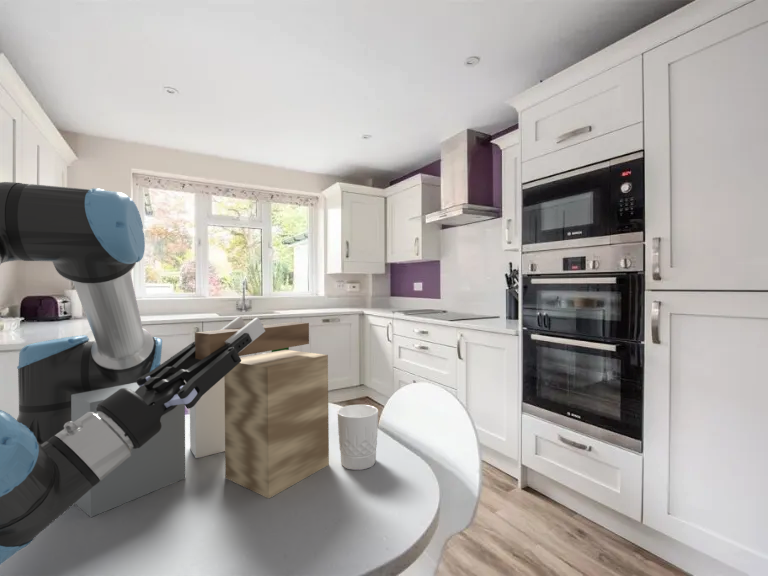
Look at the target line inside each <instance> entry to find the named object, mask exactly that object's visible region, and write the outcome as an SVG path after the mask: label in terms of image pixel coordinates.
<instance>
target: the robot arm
mask: <svg viewBox="0 0 768 576" xmlns="http://www.w3.org/2000/svg"><path fill="white" fill-rule="evenodd" d="M143 229H144V225H143V221H142V217H141V214H140V210H139V209H138V207H137V204H136V202H135V201H134V200H133V199H132V198H131V197H130V196H129V195H127V194H125V193H123V192H120V191H112V190H105V189H102V188H99V187H98V188H94V187H93V188H90V189H89V188H88V189H87V188H79V187H78V188H77V187H67V186H56V185H44V184H34V183H22V182H11V181H2V182H1V181H0V266H1V264H4V263H6V262H7V263H8V262H15V261H23V262H52V264H53V266H54V269H55V271H56V272H57V274H58V275H60V277H62V278H63V279H65V280H68V281H70V282H72V284H73V286H74V288H75V290H76V294H77V296H78V299H79V302H80V304H81V307H82V309H83V311H84V314H85V317H86V319H87V323H88V325H89V327H90V329H91V332H92V335H93V337H94V341H93V340H92V341H90V339H89V337H88V335H85V334H82V335H74V336H73V335H72V336H68V337H67V336H66V337H61V338H60V337H59V338H54V339H47V340H42V341H38V342H35V343H30V344H27V345H24V347H22V348H20V351H19V353H18V355H19V356H18V365H17V366H16V369H17V371H18V372H17V375H18V376H17V377H18V378H17V379H18V380H17V381H18V383H17V384H18V385H17V386H18V416H17V419H16V418H15V417H14V416H12V415H11V414H10V413H8V412H6V411H4V410H2V409H0V566H1V565H2V564H3V563H5V562H6V561H7V560H8V559H10V558H11V557H12V556H14V555H15V554H17V552H19V551H20V550H21V549H23V548H26V547H27V546H28V545H29V544H31V543H32V542H33V540H34V539H35V538H36V537H37V536H38V535H39V534H40V533H41V532H43V531H44V530H45V529H46V528H48V527H49V526H50V525H51V524H52V523H53V522H54V521H56V519H57V518H60V516H61V515H63V514H64V513H65V512H66V511H67V510H68V509H69V508H71V507H72V506H73V505H74V504H75V502H76V501H77V500H79V499H80V498H81V497H82V496H83V495H84V494H86V493H87V492H88V491H89V490H90V489H91V488H93V486H95V485H96V484H97V483H98V482H99V481H101V480H102V479H103V478H105V477H106V476H107V475H108V474H109V473H111V472H112V471H113V470H114V469H115V468H117V467H118V466H119V465H120V464H121V463H123V462H124V461H125V460H126V459H127V458H129V457H130V456H131V449H132V448H134V449H136V448H140V447H141V446H142V445H144V444H145V443H146V442H147V441H148V440H150V439H151V438H152V437H153V436H154V435H155V434H157V433H158V432H159V431H160V430H161V426H162V425H161V422H160V419H161V417H162V416H163V415H164V414H166V413H167V412H169V411H171V410H173V409H174V408H175V407H176V406H177V405H179V404H184V405H185V408H186V409H189V410H190V408H192V407H193V406H194V405H195V404H196V403H197V402H198V400H199V399H200V398H201V397H202V395H204V394H205V393H206V392H207V391H208V390H209V389H210V388H212V387H213V386H214V385H215V384H216V383H217V382H218V381H219V380H221V379H222V378H223V377H224V376H225V375H226V374H227V373H229V372H230V371H231V370H232V369H233V368H234V367H235V366H237V365H238V364H239V363H240V362H241V359H240V358H241V356H239V355H238V353H239V352H241V351H242V350H243V349H244V348H245V347H247V346H248V345H249V344H250V343H252V342H253V341H254V340H255V339H256V338H258V337H259V336H260V335H261V334H262V333H264V332H265V329H264V327H263V325H264V324H263V323H262V322H261V320H260V318H259V317H255V318H253V319H252V320H250V321H249V322H248V323H245V321H244V319H243V318H242V316H237V317H236V318H234V319H232V320H231V321H230V322H229V323H227V324H225V325H224V326H223V327H222V328H221V329H220V330H223V329H233V328H241V329H240V330H239V331H237V332H236V333H235V334H234V335H232V336H231V337H230V338H228V339H227V340H226V341H225V343H226V344H225V345H224V346H222V347H221V348H219V349H218V350H216V351H214V352H213V353H211V354H210V355H208V356H207V357H205V358H204V359H202V360H201V359H196V358H195V341H193V342H191V343H190V344H189V345H187V346H186V347H184V348H182V349H181V350H180V351H178V352H176V353H175V354H174V355H172V356H171V357H170V358H168V359H167V360H166V361H164V362H161V360H162V350H163V349H162V348H163V339H162V338H161V337H157V336H153V335H152V334H151V333H150V331H148V330H147V329H145V328H143V323H142V320H141V314H140V311H139V305H138V301H137V296H136V292H135V287H134V284H133V283H134V282H133V279H132V274H131V272H132V270H134V268H135V266H136V263H139V262H140V261H142V259H143V257H144V254H145V249H146V243H145V242H146V241H145V240H146V238H145V234H144V233H145V232H144V230H143ZM242 327H243V328H242ZM131 383H137V384H138V385H139V388H138V389H137V390H136V391H135V392H134V391H132V390H130V389H128V388H121V389H119V390H118V391H116V392H115V393H114V394H112V395H111V396H109V397H108V398H106V399H105V400H104V401H102V402H101V403H99V404H98V405H97V406H98V407H97V408H96V410H97V412H96V413H94V412H87V413H86V414H85V415H83V416H82V417H80V418H79V419H77V420H76V421H75V422H73V421H71V395H73V394H78V393H83V392H89V391H94V390H99V389H105V388H110V387H115V386H121V385H126V384H131Z"/></svg>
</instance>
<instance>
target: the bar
mask: <svg viewBox="0 0 768 576" xmlns="http://www.w3.org/2000/svg"><path fill="white" fill-rule="evenodd" d="M262 325H263V327H264V329H265V332H264V333H262V334H261V335H260V336H259V337H258V338H256V339H255V340H254V341H253V342H252V343H250V344H249V345H248V346H247V347H245V348H244V349H243V350H242V351H241V352H239V353H238V355H239V357H241V356H242V357H244V356H247V355H248V356H249V355H255V354H261V353H266V352H272V350H277V349H283V348H288V347H289V348H293V347H298V346H299V347H300V346H304V345H309V344H310V323H309V322H301V321H289V322H281V323H273V324H272V323H271V324H262ZM242 328H243V327H242ZM240 329H241V328H233V329H223V330H221V329H216V330H215V329H214V330H207V331H196V332H195V336H194V337H195V338H194V340H195V341H194V342H195V358H196V359H201V360H202V359H204V358H205V357H207V356H208V355H210V354H211V353H213V352H214V351H216V350H218V349H219V348H221V347H222V346H224V345H225V344H226V343H225V341H226V340H227V339H228V338H230V337H231V336H232V335H234V334H235V333H236V332H237V331H239V330H240Z"/></svg>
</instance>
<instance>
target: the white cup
mask: <svg viewBox="0 0 768 576" xmlns="http://www.w3.org/2000/svg"><path fill="white" fill-rule="evenodd" d="M336 412H337V424H338V425H337V428H338V429H337V431H338V441H339V442H338V444H339V451H340V463H341V466H342V467H344V468H345V469H348V470H352V471H353V470H354V471H362V470H366V469H370V468H371V467H373V466H374V465H375V463H376V462H377V446H378V429H379V428H378V426H379V409H378V408H377V407H376V406H373V405H369V404H350V405H345V406H342V407H340V408H338V410H337V411H336Z"/></svg>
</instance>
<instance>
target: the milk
mask: <svg viewBox="0 0 768 576" xmlns="http://www.w3.org/2000/svg"><path fill="white" fill-rule="evenodd" d="M189 430H190V431H189V439H190V440H189V443H190V444H189V447H190V451H191V452H192V454H193V456H194V458H195V459H200V458H203V457H208V456H211V455H215V454H220V453H223V452H224V453H225V377H223V378H222V379H221V380H219V381H218V382H217V383H216V384H215V385H214V386H213V387H212V388H210V389H209V390H208V391H207V392H206V393H205V394H204V395H202V397H201V398H200V399H199V400H198V402H197V403H196V404H195V405H194V406H193V407H192V408H189Z"/></svg>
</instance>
